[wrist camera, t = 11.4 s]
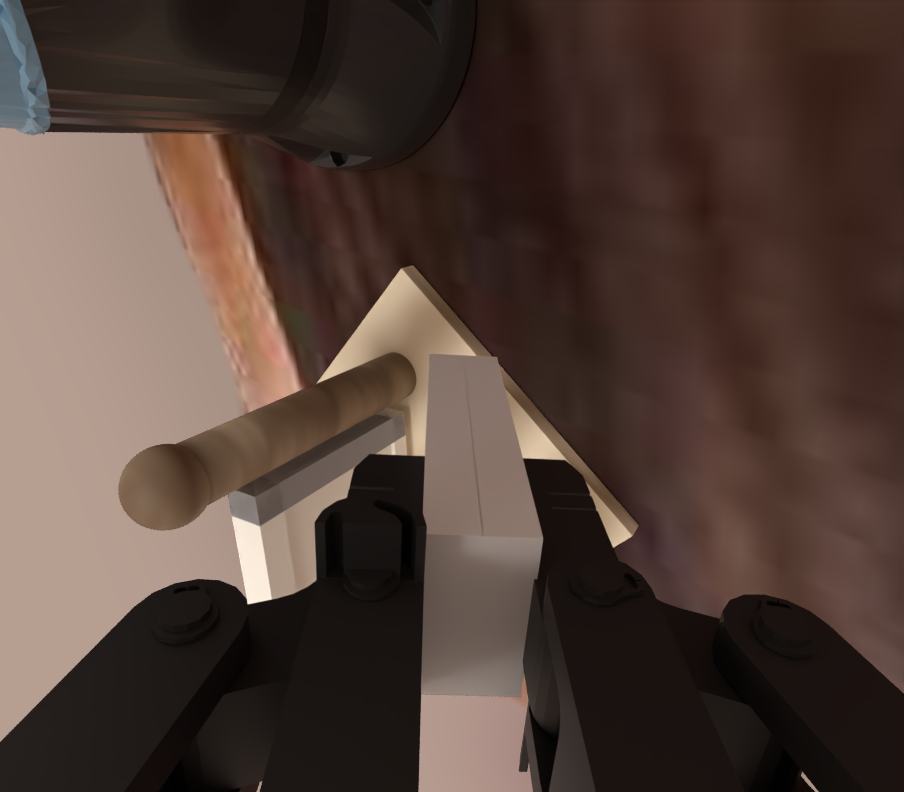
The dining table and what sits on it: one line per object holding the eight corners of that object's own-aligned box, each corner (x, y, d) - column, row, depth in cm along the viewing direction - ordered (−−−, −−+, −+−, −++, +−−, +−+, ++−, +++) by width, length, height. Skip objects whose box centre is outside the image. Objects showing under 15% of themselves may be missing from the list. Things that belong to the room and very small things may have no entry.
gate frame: (286, 434, 48) (22, 565, 33) (413, 265, 37) (99, 345, 22) (449, 639, 46) (246, 882, 30) (638, 525, 34) (465, 823, 19)
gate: (378, 406, 39) (226, 487, 30) (404, 411, 38) (254, 497, 29) (396, 620, 45) (273, 744, 36) (418, 629, 44) (298, 760, 35)
